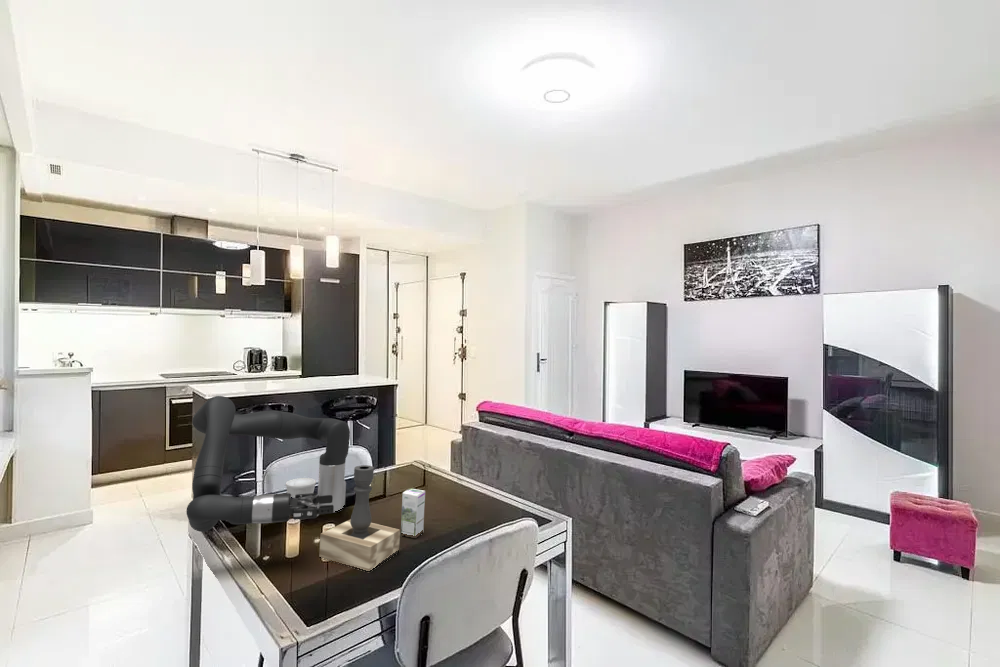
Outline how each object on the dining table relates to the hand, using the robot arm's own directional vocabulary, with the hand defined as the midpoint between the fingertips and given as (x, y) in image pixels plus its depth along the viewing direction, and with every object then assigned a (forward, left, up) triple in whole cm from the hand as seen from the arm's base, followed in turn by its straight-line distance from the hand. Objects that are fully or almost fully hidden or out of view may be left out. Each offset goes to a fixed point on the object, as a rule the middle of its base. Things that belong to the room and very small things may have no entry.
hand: (333, 503), depth 138 cm
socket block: (-6, +6, -16) cm, 18 cm away
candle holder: (-6, +6, -15) cm, 17 cm away
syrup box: (-26, +11, -16) cm, 32 cm away
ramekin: (-36, -49, -16) cm, 63 cm away
